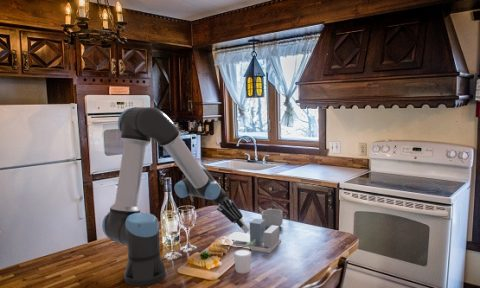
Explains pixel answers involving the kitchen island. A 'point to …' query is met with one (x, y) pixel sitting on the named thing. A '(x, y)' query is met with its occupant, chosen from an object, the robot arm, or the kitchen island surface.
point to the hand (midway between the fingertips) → (248, 231)
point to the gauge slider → (257, 231)
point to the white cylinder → (242, 260)
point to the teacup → (272, 217)
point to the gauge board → (266, 246)
